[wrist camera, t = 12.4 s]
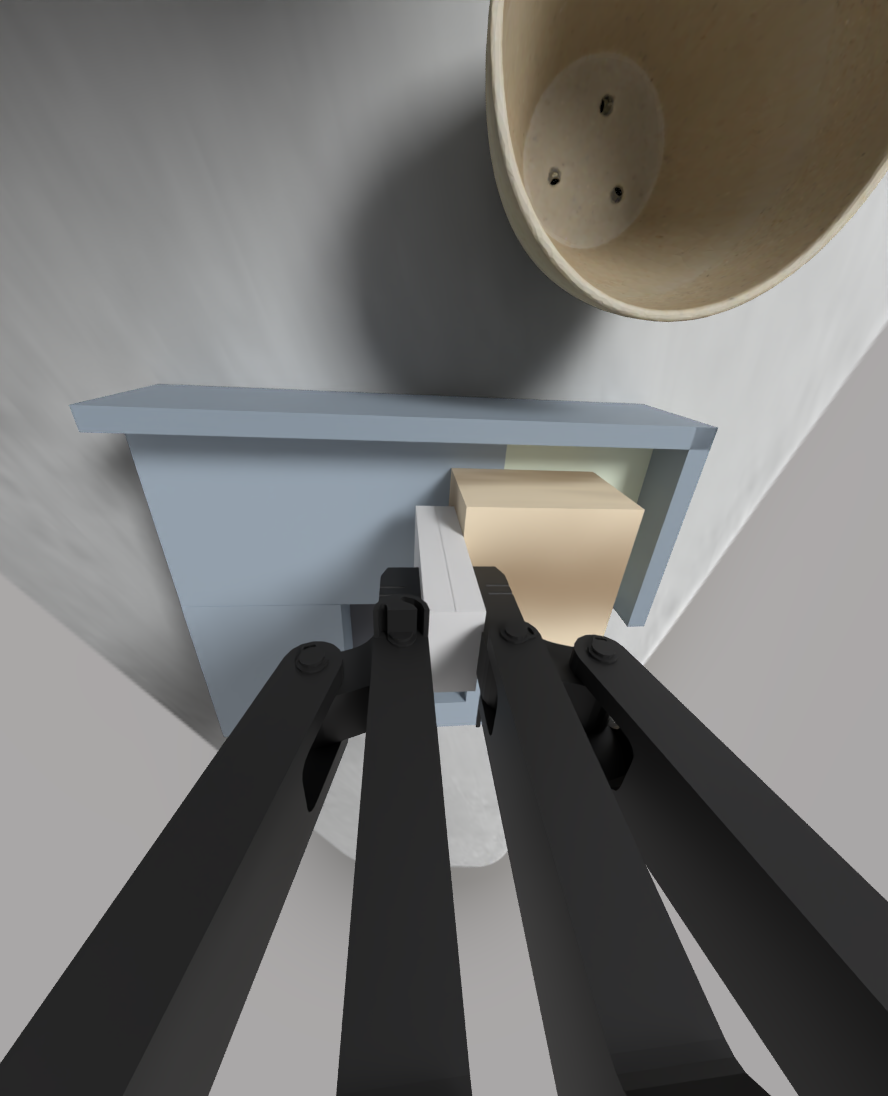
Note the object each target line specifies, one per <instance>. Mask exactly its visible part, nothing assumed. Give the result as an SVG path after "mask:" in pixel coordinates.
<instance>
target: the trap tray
mask: <svg viewBox="0 0 888 1096" xmlns="http://www.w3.org/2000/svg"><path fill="white" fill-rule="evenodd" d="M69 406H70V409H71V411H72V414H73V417H74V419H75V422H76V425H77V427H78V430H79V432H91V433H125V436H126V439H127V442H128V445H129V448H130V451H131V454H132V457H133V460H134V463H135V466H136V469H137V472H138V475H139V478H140V481H141V485H142V488H143V491H144V494H145V497H146V500H147V503H148V506H149V509H150V512H151V515H152V518H153V521H154V524H155V527H156V530H157V533H158V536H159V539H160V542H161V545H162V549H163V552H164V555H165V558H166V561H167V564H168V567H169V570H170V573H171V576H172V579H173V582H174V585H175V588H176V591H177V594H178V597H179V600H180V603H181V606H182V607H181V608H182V611H183V614H184V617H185V620H186V623H187V626H188V629H189V632H190V635H191V638H192V641H193V644H194V647H195V650H196V653H197V657H198V660H199V663H200V666H201V669H202V672H203V675H204V678H205V681H206V684H207V687H208V690H209V693H210V696H211V699H212V702H213V705H214V708H215V711H216V714H217V717H218V720H219V723H220V727H221V730H222V733H223V736H224V737H229V735H230V734H231V732H232V731H233V729H234V728H235V727H236V725H237V724H238V722H239V721H240V719H241V718H242V717H243V715H244V714H245V712H246V711H247V709H248V708H249V707H250V705H251V704H252V702H253V701H254V699H255V698H256V696H257V695H258V694H259V692H260V691H261V689H262V688H263V686H264V685H265V684H266V682H267V681H268V679H269V678H270V676H271V675H272V674H273V672H274V671H275V669H276V668H277V666H278V665H279V664H280V662H281V661H282V659H283V658H284V657H285V656H286V655H287V654H288V653H289V652H290V651H291V650H292V649H293V648H295V647H297V646H299V645H301V644H304V643H308V642H312V641H325V642H328V643H331V644H334V645H335V646H336V647H337V648H339V649H340V651H345V650H349V649H352V648H355V647H358V646H360V645H362V644H364V643H366V642H367V641H368V640H369V639H370V638H372V636H373V635H374V628H373V609H374V607H375V604H376V603H377V602H378V601H379V590H380V578H381V575H382V574H383V573H384V571H385V570H386V569H387V568H388V567H414V548H415V512H416V506H449V494H450V480H451V468H473V469H510V470H547V471H584V472H594V473H595V474H597V475H598V476H600V477H601V478H602V479H604V480H605V481H606V482H608V483H609V484H610V485H612V486H613V487H615V488H616V489H617V490H619V491H620V492H621V493H623V494H624V495H625V496H627V497H628V498H630V499H631V500H632V501H634V502H635V503H636V504H638V505H639V506H640V507H642V508H643V509H645V511H644V514H643V517H642V520H641V523H640V526H639V529H638V532H637V535H636V538H635V541H634V544H633V548H632V551H631V554H630V557H629V560H628V563H627V566H626V569H625V572H624V575H623V578H622V581H621V584H620V587H619V590H618V593H617V596H616V599H615V603H614V606H613V608H614V609H615V611H616V612H617V613H618V615H619V616H620V617H621V619H622V620H623V621H624V623H625V624H626V625H627V627H631V626H644V624H645V622H646V619H647V616H648V614H649V611H650V608H651V606H652V603H653V600H654V598H655V595H656V592H657V590H658V587H659V584H660V582H661V579H662V576H663V574H664V571H665V568H666V566H667V563H668V560H669V558H670V555H671V552H672V550H673V547H674V544H675V542H676V539H677V536H678V534H679V531H680V528H681V526H682V523H683V520H684V518H685V515H686V512H687V510H688V507H689V504H690V502H691V499H692V496H693V494H694V491H695V488H696V485H697V483H698V480H699V477H700V475H701V472H702V469H703V467H704V464H705V461H706V459H707V456H708V453H709V451H710V448H711V445H712V443H713V440H714V437H715V435H716V432H717V429H718V428H717V427H714V426H711V425H708V424H705V423H701V422H698V421H695V420H692V419H689V418H686V417H682V416H679V415H676V414H673V413H670V412H666V411H663V410H660V409H657V408H654V407H651V406H647V405H644V404H627V403H603V402H579V401H554V400H530V399H506V398H482V397H458V396H434V395H409V394H385V393H361V392H337V391H313V390H288V389H264V388H240V387H216V386H192V385H168V384H157V385H152V386H148V387H144V388H139V389H135V390H131V391H126V392H122V393H118V394H114V395H109V396H105V397H101V398H96V399H92V400H88V401H83V402H79V403H75V404H71V405H69ZM479 696H480V688H479V684H478V679H477V683H476V690H475V691H464V692H435V693H434V702H435V712H436V723H437V727H438V726H458V725H476V717H477V710H478V703H479ZM480 724H482V722H481V723H480Z"/></svg>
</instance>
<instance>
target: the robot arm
mask: <svg viewBox="0 0 888 1096" xmlns="http://www.w3.org/2000/svg"><path fill="white" fill-rule="evenodd" d="M373 628H374V635H373V636H372V638H370V639H369V640H368V641H367V642H366V643H364V644H362V645H360V646H358V647H355V648H352V649H349V650H345V651H340V649H339V648H337V647H336V646H335V645H334V644H331V643H328V642H325V641H312V642H308V643H304V644H301V645H299V646H297V647H295V648H293V649H292V650H291V651H290V652H289V653H288V654H287V655H286V656H285V657H284V658H283V659H282V661H281V662H280V664H279V665H278V666H277V668H276V669H275V671H274V672H273V674H272V675H271V676H270V678H269V679H268V681H267V682H266V684H265V685H264V686H263V688H262V689H261V691H260V692H259V694H258V695H257V696H256V698H255V699H254V701H253V702H252V704H251V705H250V707H249V708H248V709H247V711H246V712H245V714H244V715H243V717H242V718H241V719H240V721H239V722H238V724H237V725H236V727H235V728H234V729H233V731H232V732H231V734H230V735H229V737H228V738H227V739H226V741H225V742H224V744H223V745H222V747H221V748H220V749H219V751H218V752H217V754H216V755H215V757H214V758H213V760H212V761H211V762H210V764H209V765H208V767H207V768H206V770H205V771H204V772H203V774H202V775H201V777H200V778H199V780H198V781H197V782H196V784H195V785H194V787H193V788H192V790H191V791H190V793H189V794H188V795H187V797H186V798H185V800H184V801H183V802H182V804H181V805H180V807H179V808H178V810H177V811H176V813H175V814H174V815H173V817H172V818H171V820H170V821H169V823H168V824H167V825H166V827H165V828H164V830H163V831H162V833H161V834H160V835H159V837H158V838H157V840H156V841H155V843H154V844H153V845H152V847H151V848H150V850H149V851H148V853H147V854H146V856H145V857H144V858H143V860H142V861H141V863H140V864H139V865H138V867H137V868H136V870H135V871H134V873H133V874H132V876H131V877H130V879H129V880H128V881H127V883H126V884H125V886H124V887H123V888H122V890H121V891H120V893H119V894H118V896H117V897H116V898H115V900H114V901H113V903H112V904H111V906H110V907H109V908H108V910H107V911H106V913H105V914H104V916H103V917H102V919H101V920H100V921H99V923H98V924H97V926H96V927H95V929H94V930H93V932H92V933H91V934H90V936H89V937H88V939H87V940H86V941H85V943H84V944H83V946H82V947H81V949H80V950H79V952H78V953H77V954H76V956H75V957H74V959H73V960H72V961H71V963H70V964H69V966H68V968H67V969H66V970H65V971H64V973H63V974H62V976H61V977H60V979H59V980H58V982H57V983H56V984H55V986H54V987H53V989H52V990H51V992H50V993H49V994H48V996H47V997H46V999H45V1000H44V1002H43V1003H42V1004H41V1006H40V1007H39V1009H38V1010H37V1012H36V1013H35V1014H34V1016H33V1017H32V1019H31V1020H30V1022H29V1023H28V1025H27V1026H26V1027H25V1029H24V1030H23V1032H22V1033H21V1035H20V1036H19V1037H18V1039H17V1040H16V1042H15V1043H14V1045H13V1046H12V1048H11V1049H10V1050H9V1052H8V1053H7V1055H6V1056H5V1057H4V1059H3V1060H2V1062H1V1063H0V1096H208V1095H209V1092H210V1090H211V1087H212V1085H213V1082H214V1080H215V1077H216V1075H217V1072H218V1070H219V1067H220V1064H221V1062H222V1059H223V1057H224V1054H225V1052H226V1049H227V1047H228V1044H229V1042H230V1039H231V1036H232V1034H233V1031H234V1029H235V1026H236V1024H237V1021H238V1019H239V1016H240V1014H241V1011H242V1009H243V1006H244V1004H245V1001H246V999H247V996H248V994H249V991H250V988H251V986H252V983H253V981H254V978H255V976H256V973H257V971H258V968H259V966H260V963H261V960H262V958H263V956H264V953H265V950H266V948H267V945H268V943H269V940H270V938H271V935H272V932H273V930H274V928H275V925H276V923H277V920H278V918H279V915H280V913H281V910H282V907H283V905H284V902H285V900H286V897H287V895H288V892H289V890H290V887H291V885H292V882H293V880H294V877H295V875H296V872H297V869H298V867H299V864H300V861H301V859H302V857H303V854H304V852H305V849H306V847H307V844H308V841H309V839H310V836H311V834H312V831H313V829H314V826H315V824H316V821H317V819H318V816H319V814H320V811H321V809H322V806H323V804H324V801H325V799H326V796H327V793H328V791H329V788H330V786H331V783H332V781H333V778H334V776H335V773H336V771H337V768H338V766H339V763H340V761H341V758H342V755H343V753H344V750H345V748H346V745H347V743H348V738H351V737H354V736H357V735H360V734H362V733H365V732H366V739H365V751H364V763H363V776H362V788H361V800H360V812H359V824H358V837H357V849H356V861H355V874H354V885H353V886H354V887H353V898H352V910H351V922H350V935H349V947H348V959H347V971H346V983H345V996H344V1008H343V1020H342V1032H341V1045H340V1056H339V1069H338V1081H337V1094H336V1096H472V1090H471V1080H470V1071H469V1061H468V1050H467V1039H466V1030H465V1018H464V1008H463V998H462V987H461V976H460V965H459V956H458V944H457V934H456V923H455V913H454V903H453V892H452V881H451V871H450V860H449V849H448V839H447V828H446V818H445V807H444V797H443V786H442V776H441V765H440V754H439V744H438V733H437V723H436V712H435V702H434V693H435V692H464V691H475V690H476V683H477V679H478V684H479V688H480V696H479V703H478V710H477V717H476V727H480V723H481V722H482V727H483V731H484V736H485V741H486V746H487V751H488V756H489V761H490V766H491V771H492V775H493V780H494V785H495V790H496V795H497V800H498V805H499V810H500V815H501V820H502V824H503V829H504V834H505V839H506V844H507V849H508V854H509V859H510V863H511V868H512V873H513V878H514V883H515V888H516V892H517V898H518V903H519V907H520V913H521V917H522V922H523V927H524V932H525V937H526V941H527V947H528V952H529V957H530V961H531V966H532V971H533V976H534V981H535V986H536V991H537V996H538V1000H539V1006H540V1010H541V1015H542V1020H543V1025H544V1030H545V1035H546V1040H547V1045H548V1049H549V1055H550V1059H551V1064H552V1069H553V1074H554V1079H555V1084H556V1089H557V1093H558V1096H770V1095H769V1094H768V1093H767V1092H766V1091H765V1090H764V1089H763V1088H762V1087H761V1086H760V1085H758V1084H757V1083H756V1082H755V1081H754V1080H753V1079H752V1078H751V1077H750V1076H748V1074H747V1073H746V1072H745V1071H744V1070H743V1068H742V1067H741V1065H740V1064H739V1063H738V1061H737V1060H736V1058H735V1057H734V1055H733V1053H732V1051H731V1049H730V1048H729V1045H728V1044H727V1042H726V1040H725V1038H724V1036H723V1034H722V1031H721V1029H720V1027H719V1025H718V1022H717V1021H716V1018H715V1016H714V1014H713V1012H712V1010H711V1007H710V1005H709V1003H708V1001H707V998H706V996H705V994H704V992H703V990H702V988H701V985H700V983H699V981H698V979H697V976H696V974H695V972H694V970H693V968H692V965H691V963H690V961H689V959H688V957H687V955H686V953H685V950H684V948H683V946H682V944H681V942H680V939H679V937H678V935H677V933H676V930H675V928H674V926H673V924H672V922H671V919H670V917H669V915H668V913H667V911H666V909H665V906H664V904H663V902H662V900H661V897H660V895H659V893H658V891H657V889H656V887H655V884H654V882H653V880H652V878H651V876H650V873H649V871H648V869H649V870H650V872H651V873H652V875H653V876H654V878H655V879H656V881H657V883H658V884H659V886H660V887H661V888H662V890H663V892H664V893H665V895H666V896H667V898H668V899H669V901H670V902H671V904H672V905H673V907H674V908H675V910H676V911H677V913H678V914H679V916H680V917H681V919H682V920H683V922H684V923H685V925H686V926H687V927H688V929H689V931H690V932H691V934H692V935H693V937H694V938H695V940H696V941H697V943H698V944H699V946H700V947H701V949H702V950H703V952H704V953H705V955H706V956H707V958H708V960H709V961H710V963H711V964H712V966H713V967H714V969H715V970H716V972H717V973H718V975H719V976H720V978H721V979H722V981H723V982H724V984H725V985H726V987H727V988H728V990H729V991H730V993H731V994H732V996H733V997H734V999H735V1000H736V1002H737V1003H738V1005H739V1006H740V1008H741V1009H742V1011H743V1012H744V1014H745V1015H746V1017H747V1018H748V1020H749V1021H750V1023H751V1024H752V1026H753V1027H754V1029H755V1030H756V1032H757V1033H758V1035H759V1036H760V1038H761V1039H762V1041H763V1043H764V1044H765V1046H766V1047H767V1049H768V1050H769V1052H770V1053H771V1055H772V1056H773V1058H774V1059H775V1061H776V1062H777V1064H778V1065H779V1066H780V1068H781V1070H782V1071H783V1073H784V1074H785V1076H786V1077H787V1079H788V1080H789V1082H790V1083H791V1085H792V1086H793V1087H794V1089H795V1091H796V1092H797V1094H798V1095H799V1096H888V902H887V900H885V899H884V898H883V897H882V896H881V895H880V894H879V893H878V892H877V891H876V890H875V889H874V888H873V887H872V886H871V885H870V884H869V883H868V882H867V881H866V880H865V879H864V878H863V877H862V876H861V875H860V874H859V873H857V872H856V871H855V870H854V869H853V868H852V867H851V866H850V865H849V864H848V863H847V862H846V861H845V860H844V859H843V858H842V857H841V856H840V855H839V854H838V853H837V852H836V851H835V850H834V849H833V848H832V847H830V846H829V845H828V844H827V843H826V842H825V841H824V840H823V839H822V838H821V837H820V836H819V835H818V834H817V833H816V832H815V831H814V830H813V829H812V828H811V827H810V826H808V824H806V822H805V821H804V820H802V819H801V818H800V817H799V816H798V815H797V814H796V813H795V812H794V811H793V810H792V809H791V808H790V807H789V806H788V805H787V804H786V803H785V802H784V801H783V800H782V799H781V798H779V796H778V795H776V794H775V793H774V792H773V791H772V790H771V789H770V788H769V787H768V786H767V785H766V784H765V783H764V782H763V781H762V780H761V779H760V778H759V777H758V776H757V775H756V774H755V773H754V772H753V771H752V770H750V768H748V767H747V766H746V765H745V764H744V763H743V762H742V761H741V760H740V759H739V758H738V757H737V756H736V755H735V754H734V753H733V752H732V751H731V750H730V749H729V748H728V747H726V745H725V744H724V743H723V742H721V741H720V740H719V739H718V738H717V737H716V736H715V735H714V734H713V733H712V732H711V731H710V730H709V729H708V728H707V727H706V726H705V725H704V724H703V723H702V722H701V721H700V720H699V719H698V718H697V717H696V716H695V715H694V714H693V713H691V712H690V711H689V710H688V709H687V708H686V707H685V706H684V705H683V704H682V703H681V702H680V701H679V700H678V699H677V698H676V697H675V696H674V695H673V694H672V693H671V692H670V691H668V690H667V688H665V687H664V686H663V685H662V684H661V683H660V682H659V681H658V680H657V679H656V678H655V677H654V676H653V675H652V674H651V673H650V672H649V671H648V670H647V669H646V668H645V667H644V666H643V665H642V664H641V663H640V662H639V661H638V660H636V659H635V658H634V657H633V656H632V655H631V654H630V653H629V652H628V651H627V650H626V649H625V648H624V647H623V646H621V645H620V644H619V643H617V642H616V641H614V640H612V639H609V638H607V637H605V636H600V635H595V634H594V635H584V636H582V637H579V638H578V639H577V640H576V642H575V643H574V646H573V647H571V646H567V645H562V644H557V643H553V642H550V641H547V640H544V639H542V636H541V634H540V633H539V632H538V630H537V629H536V628H535V627H534V626H532V625H531V624H529V623H528V622H525V621H524V619H523V616H522V614H521V612H520V609H519V607H518V605H517V602H516V600H515V598H514V595H513V594H512V591H511V588H510V586H509V584H508V581H507V579H506V577H505V575H504V574H503V573H502V572H501V571H500V570H499V569H497V568H496V567H495V566H472V563H471V560H470V557H469V553H468V550H467V547H466V543H465V540H464V537H463V534H462V530H461V527H460V524H459V520H458V517H457V514H456V511H455V508H454V506H416V512H415V548H414V567H388V568H387V569H386V570H385V571H384V573H383V574H382V575H381V578H380V590H379V601H378V602H377V603H376V604H375V607H374V609H373ZM612 719H613V720H614V721H613V720H612ZM645 864H646V865H645ZM646 866H647V867H648V869H647V867H646Z"/></svg>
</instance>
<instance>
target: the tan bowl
mask: <svg viewBox="0 0 888 1096" xmlns="http://www.w3.org/2000/svg"><path fill="white" fill-rule="evenodd" d="M485 97H486V118H487V129H488V140H489V148H490V155H491V161H492V166H493V171H494V176H495V180H496V184H497V188H498V192H499V195H500V198H501V201H502V204H503V207H504V210H505V213H506V215H507V218H508V220H509V222H510V225H511V227H512V229H513V231H514V233H515V235H516V237H517V239H518V240H519V242H520V243H521V245H522V247H523V248H524V250H525V251H526V253H527V254H528V255H529V257H530V258H531V259H532V260H533V262H534V263H535V264H536V265H537V266H538V268H539V269H540V270H541V271H542V272H543V273H544V274H545V275H546V276H547V277H548V278H549V279H551V280H552V281H553V282H554V283H555V284H557V285H558V286H559V287H561V288H562V289H563V290H565V291H566V292H568V293H569V294H571V295H572V296H574V297H576V298H577V299H579V300H581V301H583V302H585V303H587V304H589V305H592V306H594V307H596V308H599V309H601V310H604V311H607V312H610V313H614V314H617V315H621V316H624V317H630V318H636V319H642V320H650V321H662V322H674V321H687V320H694V319H699V318H704V317H708V316H712V315H715V314H718V313H721V312H724V311H727V310H730V309H732V308H735V307H737V306H739V305H742V304H744V303H746V302H748V301H750V300H752V299H754V298H756V297H757V296H759V295H761V294H763V293H765V292H766V291H768V290H770V289H771V288H773V287H774V286H776V285H777V284H779V283H780V282H781V281H783V280H784V279H786V278H787V277H789V276H790V275H791V274H793V273H794V272H795V271H797V270H798V269H799V268H800V267H802V266H803V265H804V264H806V263H807V262H808V261H809V260H810V259H811V258H813V257H814V256H815V255H816V254H817V253H818V252H819V251H820V250H821V249H822V248H823V247H824V246H825V245H826V244H827V243H828V242H829V241H830V240H831V239H832V238H833V237H834V236H835V235H836V234H837V233H838V232H839V231H840V230H841V229H842V228H843V226H844V225H845V224H846V223H847V222H848V221H849V220H850V219H851V218H852V217H853V216H854V214H855V213H856V212H857V210H858V209H859V208H860V207H861V206H862V204H863V203H864V202H865V201H866V199H867V198H868V197H869V195H870V194H871V193H872V191H873V190H874V189H875V188H876V186H877V185H878V183H879V182H880V180H881V179H882V178H883V176H884V175H885V173H886V172H887V170H888V0H490V6H489V17H488V31H487V44H486V83H485ZM602 100H603V102H604V108H603V111H602V113H600V106H601V102H602ZM553 179H558V180H559V182H558V183H557V184H555V185H551V184H550V183H551V181H552V180H553ZM616 187H617V188H620V189H621V192H622V195H621V196H618V195H617V194H616V192H615V188H616Z"/></svg>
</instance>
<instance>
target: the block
mask: <svg viewBox="0 0 888 1096" xmlns="http://www.w3.org/2000/svg"><path fill="white" fill-rule="evenodd" d="M449 506H454V508H455V511H456V514H457V517H458V520H459V524H460V527H461V530H462V534H463V537H464V540H465V543H466V547H467V550H468V553H469V557H470V560H471V563H472V566H495V567H496V568H497V569H499V570H500V571H501V572H502V573H503V574H504V575H505V577H506V579H507V581H508V584H509V586H510V588H511V591H512V594H513V595H514V598H515V600H516V602H517V605H518V607H519V609H520V612H521V614H522V616H523V619H524V621H525V622H528V623H529V624H531V625H532V626H534V627H535V628H536V629H537V630H538V632H539V633H540V634H541V636H542V639H544V640H547V641H550V642H553V643H557V644H562V645H567V646H571V647H573V646H574V643H575V642H576V640H577V639H578V638H579V637H582V636H584V635H594V634H595V635H600V636H604V633H605V630H606V627H607V624H608V621H609V618H610V615H611V612H612V609H613V606H614V603H615V599H616V596H617V593H618V590H619V587H620V584H621V581H622V578H623V575H624V572H625V569H626V566H627V563H628V560H629V557H630V554H631V551H632V548H633V544H634V541H635V538H636V535H637V532H638V529H639V526H640V523H641V520H642V517H643V514H644V511H645V509H643V508H642V507H640V506H639V505H638V504H636V503H635V502H634V501H632V500H631V499H630V498H628V497H627V496H625V495H624V494H623V493H621V492H620V491H619V490H617V489H616V488H615V487H613V486H612V485H610V484H609V483H608V482H606V481H605V480H604V479H602V478H601V477H600V476H598V475H597V474H595V473H594V472H584V471H547V470H510V469H473V468H451V480H450V494H449Z"/></svg>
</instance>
